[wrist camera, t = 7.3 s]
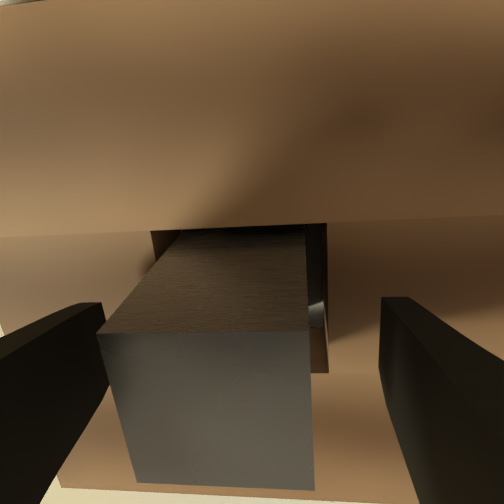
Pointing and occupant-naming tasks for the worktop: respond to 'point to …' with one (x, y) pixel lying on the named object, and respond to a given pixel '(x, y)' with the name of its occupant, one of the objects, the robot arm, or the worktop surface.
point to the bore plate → (259, 182)
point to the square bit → (217, 362)
